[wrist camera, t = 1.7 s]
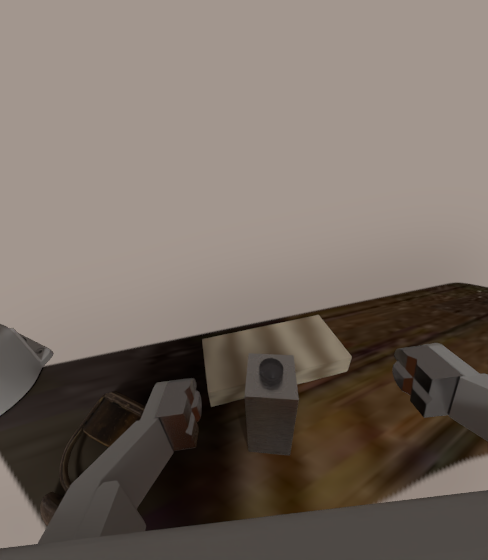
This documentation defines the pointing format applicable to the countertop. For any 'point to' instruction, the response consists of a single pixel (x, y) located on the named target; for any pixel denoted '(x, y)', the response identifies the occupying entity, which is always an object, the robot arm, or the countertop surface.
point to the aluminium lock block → (270, 403)
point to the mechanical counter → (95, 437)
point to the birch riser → (271, 340)
